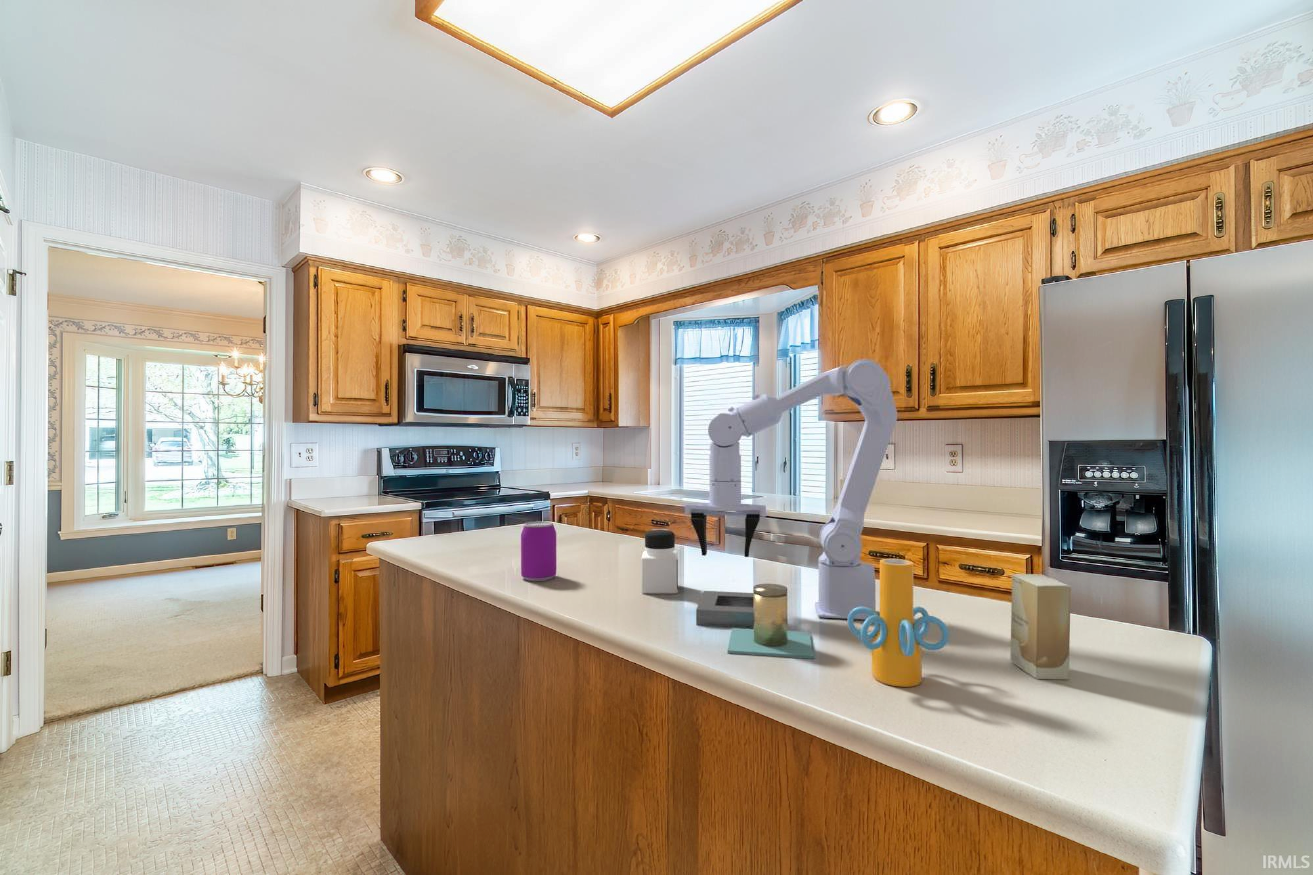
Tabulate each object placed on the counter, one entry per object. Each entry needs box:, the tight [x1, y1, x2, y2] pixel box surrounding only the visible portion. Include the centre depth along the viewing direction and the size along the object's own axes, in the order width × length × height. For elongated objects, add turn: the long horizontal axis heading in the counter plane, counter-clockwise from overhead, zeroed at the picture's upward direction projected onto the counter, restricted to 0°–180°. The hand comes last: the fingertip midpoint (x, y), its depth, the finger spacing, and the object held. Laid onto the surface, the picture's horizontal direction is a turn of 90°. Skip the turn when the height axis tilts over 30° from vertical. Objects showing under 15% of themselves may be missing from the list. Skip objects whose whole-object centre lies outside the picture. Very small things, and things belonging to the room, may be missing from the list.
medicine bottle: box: [641, 528, 679, 595], centre depth 121 cm, size 7×7×12 cm
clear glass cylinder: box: [752, 583, 788, 647], centre depth 90 cm, size 5×5×8 cm
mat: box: [727, 627, 815, 660], centre depth 90 cm, size 12×10×1 cm
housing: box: [695, 590, 754, 629], centre depth 104 cm, size 12×12×2 cm
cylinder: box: [847, 558, 950, 688], centre depth 77 cm, size 12×10×15 cm
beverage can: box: [520, 520, 557, 582], centre depth 131 cm, size 8×8×12 cm
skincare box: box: [1010, 573, 1072, 680], centre depth 79 cm, size 6×4×12 cm
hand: (725, 555), depth 109 cm, fingers open, 7 cm apart
